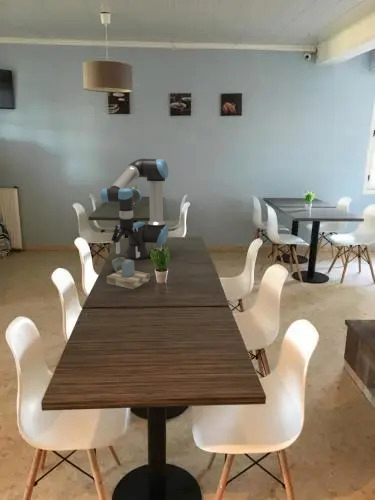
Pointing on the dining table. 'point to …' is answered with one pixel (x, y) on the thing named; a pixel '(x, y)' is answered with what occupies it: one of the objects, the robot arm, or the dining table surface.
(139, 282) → the hub block
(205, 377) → the dining table surface
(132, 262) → the keyed peg
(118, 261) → the decorative stone
